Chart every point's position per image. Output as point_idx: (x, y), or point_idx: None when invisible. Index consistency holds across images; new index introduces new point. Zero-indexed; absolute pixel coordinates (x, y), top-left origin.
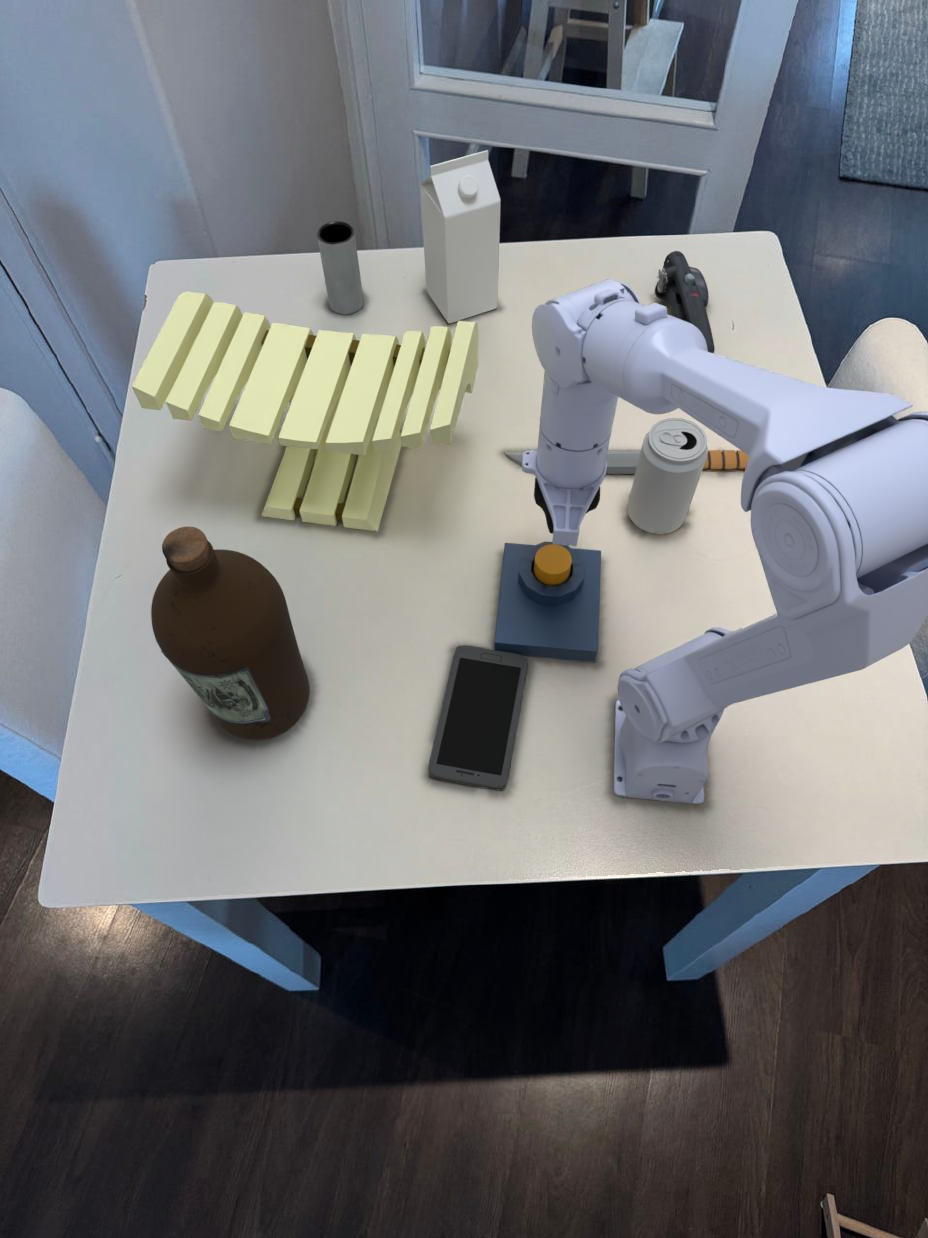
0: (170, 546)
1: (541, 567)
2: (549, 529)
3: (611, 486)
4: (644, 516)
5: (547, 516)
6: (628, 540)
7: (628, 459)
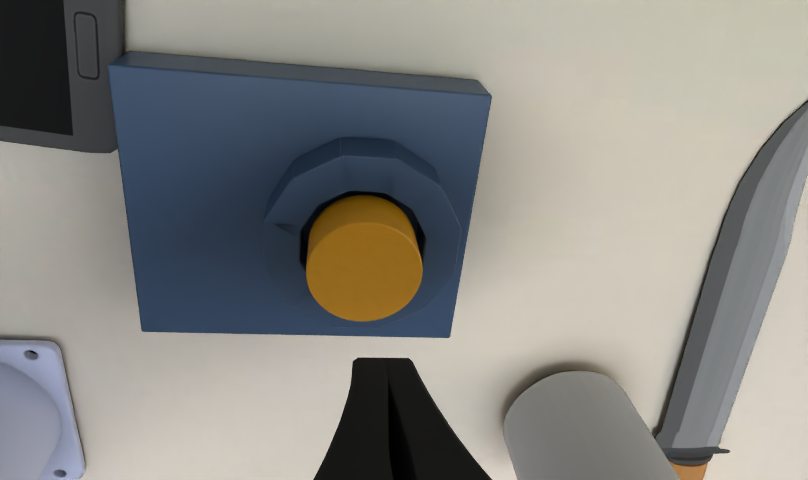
0: None
1: (330, 241)
2: (353, 373)
3: (653, 333)
4: (533, 428)
5: (323, 461)
6: (498, 363)
7: (717, 371)
